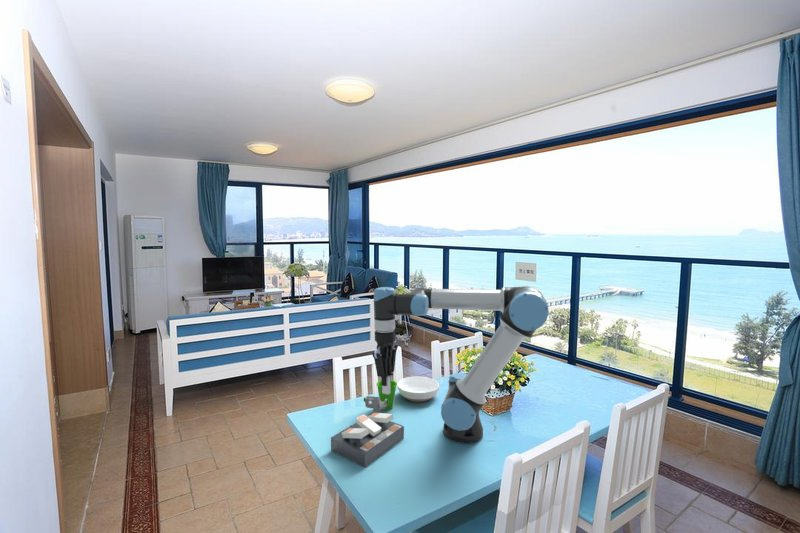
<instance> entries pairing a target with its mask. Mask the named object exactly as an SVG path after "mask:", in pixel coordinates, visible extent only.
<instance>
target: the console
mask: <svg viewBox="0 0 800 533" xmlns="http://www.w3.org/2000/svg"><path fill="white" fill-rule="evenodd" d="M371 414H372V413H370V414H368V415H366V416H367V417H368V416H369V415H371ZM375 423H376V424H377V425H379V426H380V427H381V432H380V433H378V434H377V435H375V436H374V437H373V436H372V435H371V434H368V435H366V436H364V437H363V438H361V439H358V438H343V436H342V432H344V431H346V430H347V429H349V428H362V427H360V426H359V425H358V424H357V423H352V425H349V426H348V427H346V428H344V429H343V430H342V431H341V430H340V431H339V432H337V434H334V435H333V436H331V437H330V452H332V453H335V454H336V455H338V456H341V457H342V458H345V459H347V460H349V461H350V462H353V463H354V464H357V465H359V466H361V467H363V468H366V467H368V466H369V465H371V464H372V463H373V462H374V461H376V460H377V459H379V458H380V457H381V456H383V455H384V454H385V453H387V452H388V451H389V450H391V449H393V447H395V446H396V445H398V444H399V443H400V442H401V441H403V440H404V438H405V437H404V436H405V426H404V425H402V424H399V423H396V422H395V421H392V420H391V421H389V422H388V423H381V422H375Z"/></svg>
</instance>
